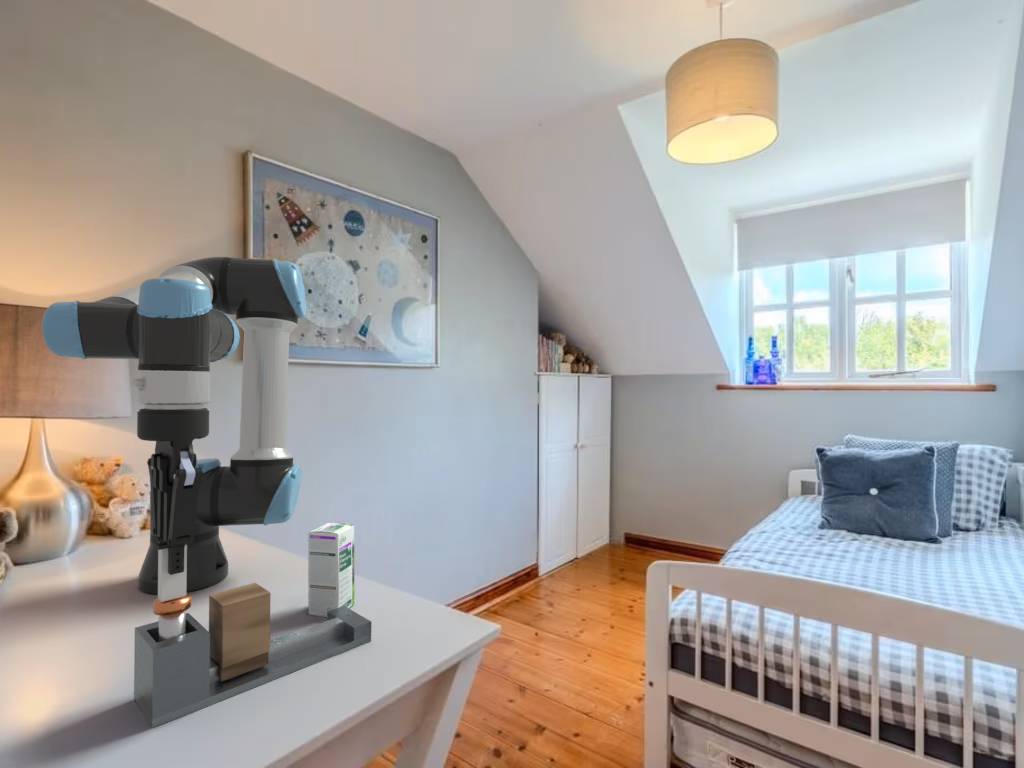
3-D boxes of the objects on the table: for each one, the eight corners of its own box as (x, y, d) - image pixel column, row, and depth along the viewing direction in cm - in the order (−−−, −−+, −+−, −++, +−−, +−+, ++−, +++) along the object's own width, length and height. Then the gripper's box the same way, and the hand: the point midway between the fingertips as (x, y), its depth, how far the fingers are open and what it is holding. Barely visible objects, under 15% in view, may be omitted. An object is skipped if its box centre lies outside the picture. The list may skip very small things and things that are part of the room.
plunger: (148, 680, 67) (148, 598, 67) (184, 668, 70) (185, 589, 70) (157, 693, 64) (158, 608, 64) (194, 680, 67) (195, 598, 67)
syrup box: (338, 618, 91) (339, 532, 91) (306, 615, 92) (307, 530, 92) (354, 604, 96) (356, 523, 96) (324, 601, 98) (325, 521, 97)
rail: (134, 699, 68) (134, 627, 67) (343, 624, 89) (344, 569, 89) (152, 728, 62) (153, 650, 62) (371, 640, 83) (372, 582, 83)
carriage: (208, 668, 72) (209, 594, 72) (254, 651, 77) (255, 582, 77) (222, 682, 69) (223, 605, 69) (269, 665, 73) (270, 592, 73)
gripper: (124, 404, 68) (122, 590, 68) (154, 410, 59) (151, 623, 60) (190, 403, 74) (188, 575, 74) (226, 408, 65) (224, 603, 65)
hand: (172, 596), depth 67 cm, fingers closed
